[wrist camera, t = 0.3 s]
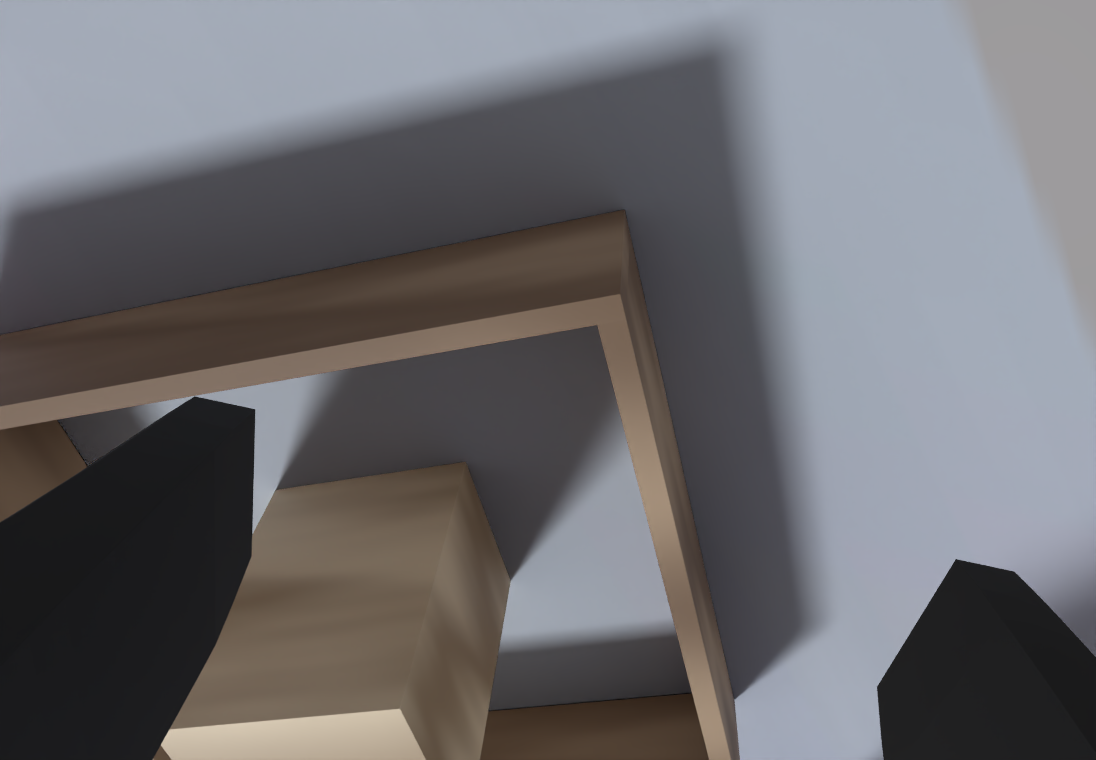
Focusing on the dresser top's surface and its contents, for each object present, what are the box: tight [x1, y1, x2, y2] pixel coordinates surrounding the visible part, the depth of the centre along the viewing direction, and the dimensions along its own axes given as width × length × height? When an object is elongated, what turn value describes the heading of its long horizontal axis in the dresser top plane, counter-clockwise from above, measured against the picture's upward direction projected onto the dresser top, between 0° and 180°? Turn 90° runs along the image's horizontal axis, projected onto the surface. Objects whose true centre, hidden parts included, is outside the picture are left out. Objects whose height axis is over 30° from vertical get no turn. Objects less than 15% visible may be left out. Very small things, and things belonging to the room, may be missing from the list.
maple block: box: [161, 462, 510, 760], centre depth 21 cm, size 4×5×7 cm
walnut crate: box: [0, 210, 740, 760], centre depth 22 cm, size 15×15×4 cm
